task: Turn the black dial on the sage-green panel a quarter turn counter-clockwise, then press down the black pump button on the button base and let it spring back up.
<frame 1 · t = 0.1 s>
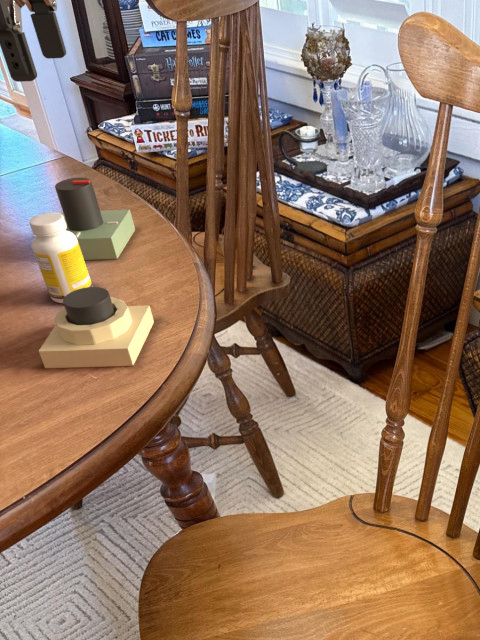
hand: (41, 68, 75), 27 cm above the table, tool pointing down, fingers open, 8 cm apart
dial panel: (92, 245, 112), on the table
pump button: (89, 306, 88), point 5 cm above the table, slide at 0.1 cm
button base: (101, 344, 91), on the table
supplement bottle: (73, 296, 101), on the table
dial: (79, 203, 108), point 6 cm above the table, hinge at 0.0°
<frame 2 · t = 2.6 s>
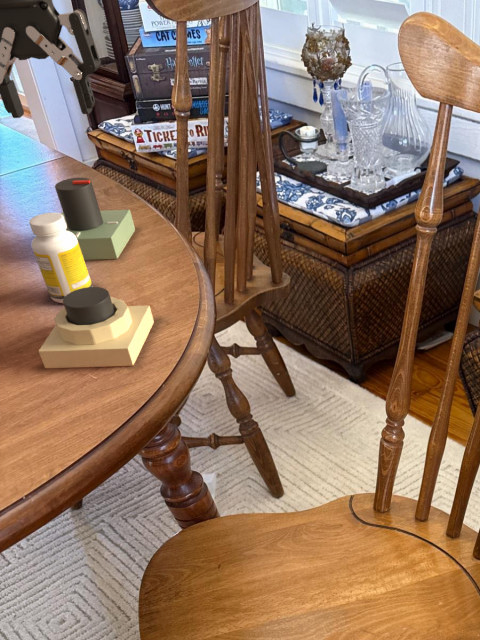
hand: (53, 114, 96), 18 cm above the table, tool pointing down, fingers open, 8 cm apart
nothing on the table moved.
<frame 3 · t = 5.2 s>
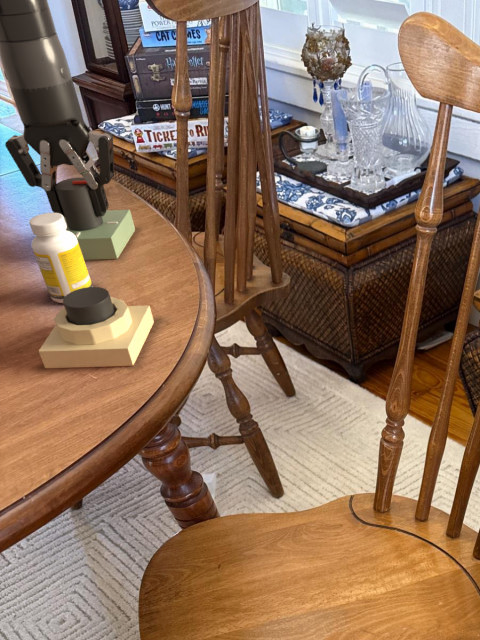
hand: (82, 214, 109), 4 cm above the table, tool pointing down, fingers closed on dial, 5 cm apart
dial: (79, 203, 108), point 6 cm above the table, hinge at 0.2°, touching gripper
everything else where it was.
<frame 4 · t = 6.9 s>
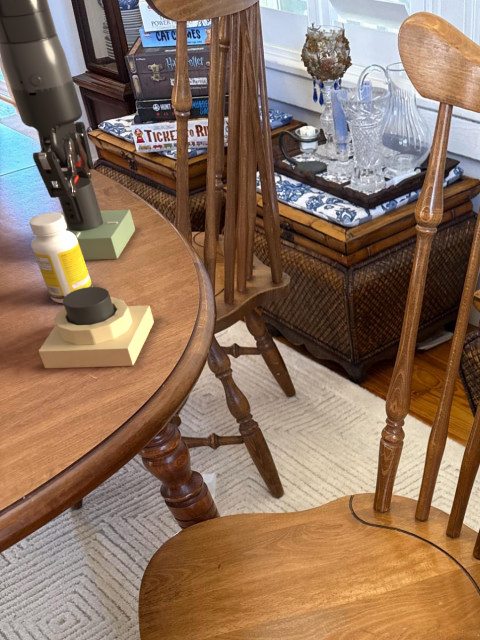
hand: (83, 215, 109), 4 cm above the table, tool pointing down, fingers open, 5 cm apart
dial: (79, 203, 108), point 6 cm above the table, hinge at 95.5°
everything else where it was.
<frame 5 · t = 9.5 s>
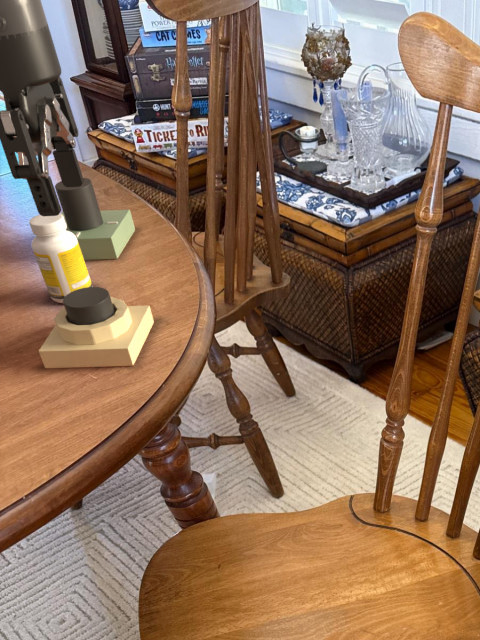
hand: (63, 199, 85), 15 cm above the table, tool pointing down, fingers open, 8 cm apart
nothing on the table moved.
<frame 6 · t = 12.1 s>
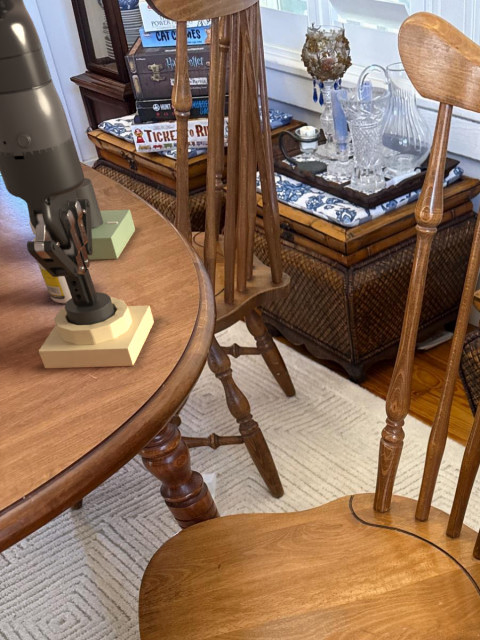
hand: (86, 303, 87), 5 cm above the table, tool pointing down, fingers closed
pump button: (90, 311, 88), point 4 cm above the table, slide at -0.6 cm, touching gripper
everything else where it was.
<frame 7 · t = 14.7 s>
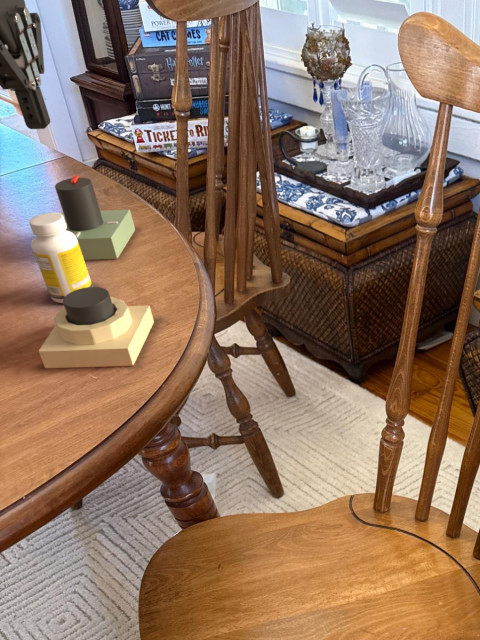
hand: (39, 126, 85), 21 cm above the table, tool pointing down, fingers closed
pump button: (89, 306, 88), point 5 cm above the table, slide at 0.1 cm
everything else where it was.
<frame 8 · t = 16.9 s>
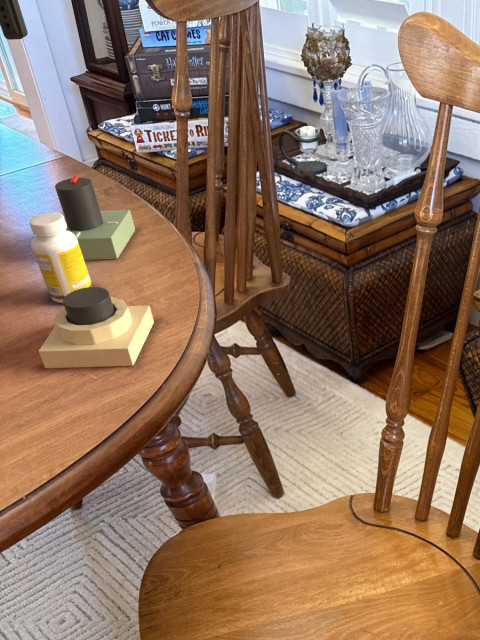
hand: (16, 37, 88), 27 cm above the table, tool pointing down, fingers closed
nothing on the table moved.
at the end: dial at +96° (first picture: +0°); pump button pushed in 1.1 cm at the most during the clip, back to where it started at the end; pump button slide at 0.1 cm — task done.
